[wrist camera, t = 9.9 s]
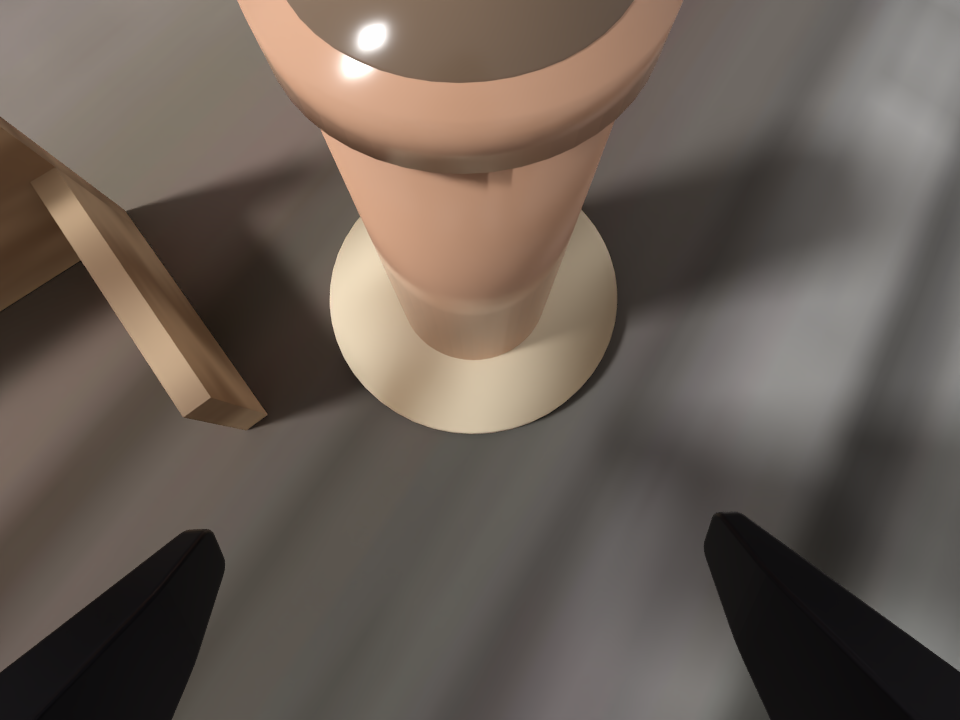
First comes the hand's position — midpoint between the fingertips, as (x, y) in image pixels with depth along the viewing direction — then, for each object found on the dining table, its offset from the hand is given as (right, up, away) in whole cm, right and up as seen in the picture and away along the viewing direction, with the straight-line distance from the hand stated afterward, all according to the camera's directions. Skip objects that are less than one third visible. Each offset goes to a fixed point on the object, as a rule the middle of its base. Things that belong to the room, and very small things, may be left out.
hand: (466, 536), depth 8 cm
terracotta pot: (0, +6, +11) cm, 12 cm away
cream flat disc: (0, +6, +11) cm, 13 cm away
